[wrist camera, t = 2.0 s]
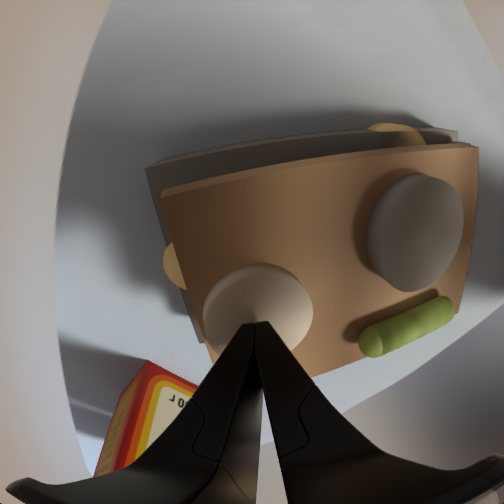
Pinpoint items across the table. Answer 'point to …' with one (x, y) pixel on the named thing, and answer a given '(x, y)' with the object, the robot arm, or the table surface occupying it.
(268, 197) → the level plate
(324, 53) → the table surface
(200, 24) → the table surface
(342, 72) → the table surface
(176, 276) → the instrument base
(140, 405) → the baking soda box
